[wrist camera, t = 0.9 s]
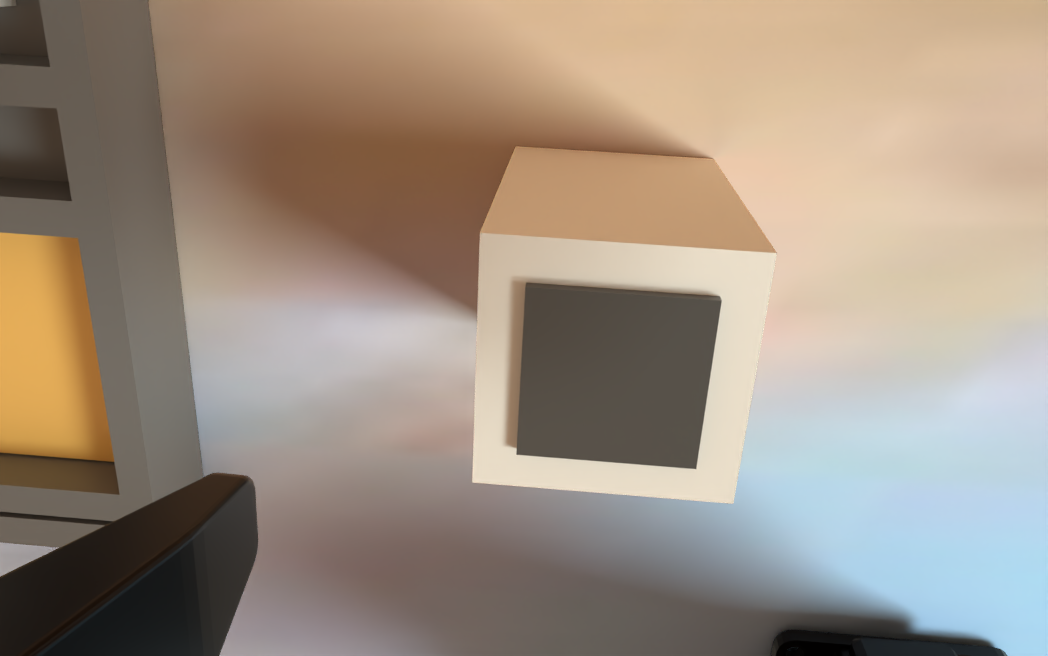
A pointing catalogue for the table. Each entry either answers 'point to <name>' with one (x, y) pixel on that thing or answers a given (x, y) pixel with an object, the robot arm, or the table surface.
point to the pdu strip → (87, 276)
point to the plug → (617, 325)
